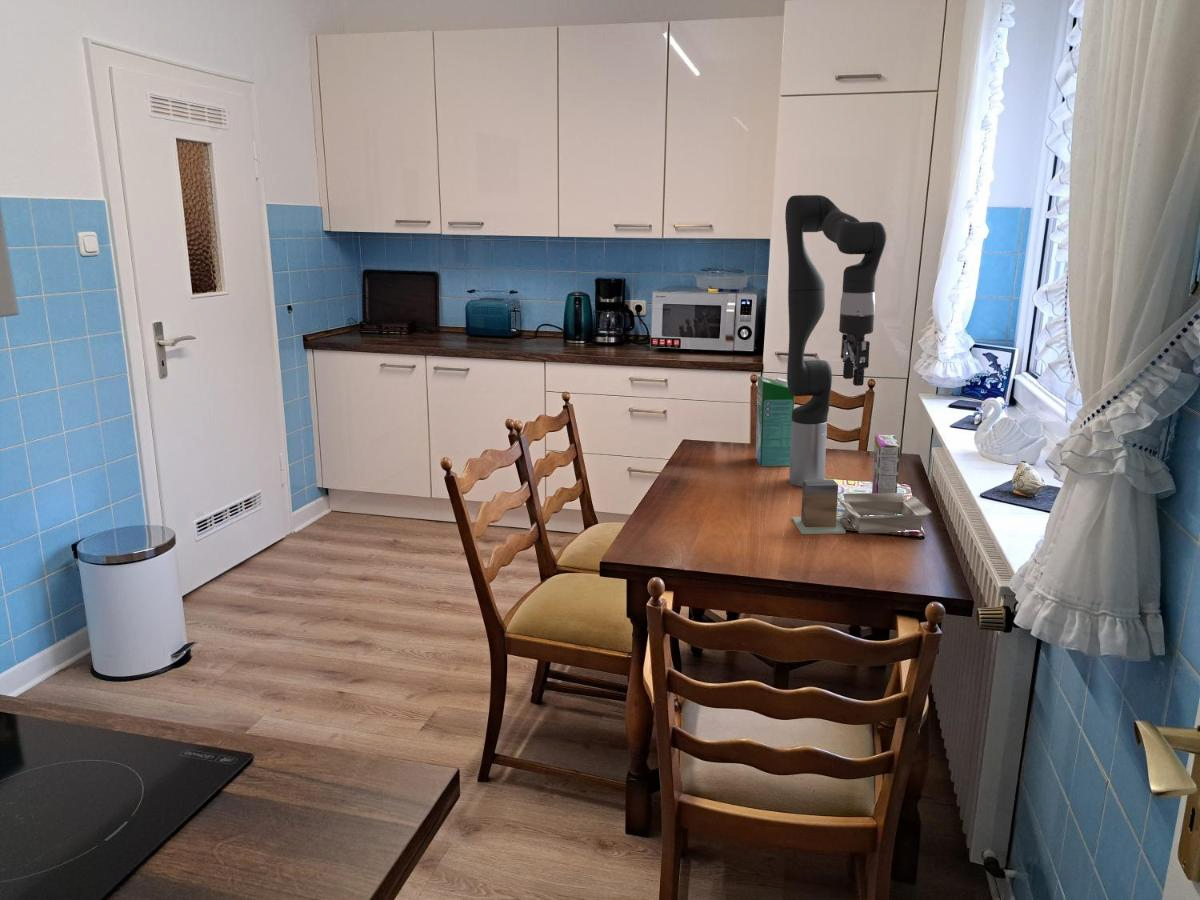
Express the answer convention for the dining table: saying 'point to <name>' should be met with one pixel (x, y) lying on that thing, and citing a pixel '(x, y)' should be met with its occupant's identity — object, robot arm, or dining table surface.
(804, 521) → the block
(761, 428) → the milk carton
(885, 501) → the carton
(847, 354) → the robot arm
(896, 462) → the candy bar box
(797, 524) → the mat
